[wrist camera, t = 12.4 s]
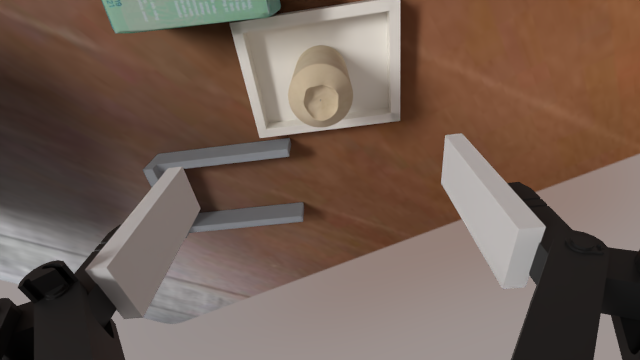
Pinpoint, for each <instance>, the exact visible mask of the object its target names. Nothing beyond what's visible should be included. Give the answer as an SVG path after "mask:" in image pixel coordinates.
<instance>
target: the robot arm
mask: <svg viewBox="0 0 640 360" xmlns="http://www.w3.org/2000/svg"><path fill="white" fill-rule="evenodd" d="M441 184H442V185H443V187H444V189H445V191H446V192H447V194H448V196H449V198H450V199H451V201H452V203H453V204H454V206H455V208H456V210H457V211H458V213H459V215H460V217H461V218H462V220H463V222H464V223H465V225H466V227H467V229H468V230H469V232H470V234H471V235H472V237H473V239H474V241H475V242H476V244H477V246H478V248H479V249H480V251H481V253H482V255H483V256H484V258H485V260H486V261H487V263H488V265H489V266H490V268H491V270H492V272H493V274H494V275H495V277H496V279H497V280H498V282H499V284H500V286H501V287H502V289H507V288H521V287H526V284H527V281H528V278H529V276H531V278H532V279H533V281H534V282H535V284H536V285H537V286H536V289H535V291H534V294H533V297H532V300H531V302H530V306H529V309H528V312H527V315H526V318H525V320H524V324H523V326H522V329H521V332H520V335H519V338H518V341H517V344H516V347H515V349H514V353H513V355H512V358H511V360H593V358H594V352H595V346H596V339H597V333H598V327H599V319H600V314H601V313H603V314H608V315H611V317H612V321H613V325H614V329H615V333H616V336H617V340H618V344H619V348H620V352H621V355H622V359H623V360H640V250H639V251H631V250H622V249H615V248H608V247H607V246H606V245H605V244H604V243H603V242H602V241H601V240H599V239H597V238H596V237H594V236H592V235H589V234H587V233H584V232H579V231H574V230H572V229H571V228H570V227H569V226H568V225H567V224H566V223H565V222H564V221H563V220H562V219H561V218H560V217H559V216H558V215H557V214H556V213H555V212H554V211H553V210H552V209H551V208H550V207H549V206H547V204H546V203H545V202H544V201H543V200H542V199H540V197H539V196H538V195H537V194H536V193H535V192H534V191H533V190H532V189H531V188H529V187H527V186H525V185H523V184H522V183H520V182H514V183H506V182H505V181H504V180H503V178H502V177H501V176H500V175H499V174H498V173H497V172H496V171H495V170H494V168H493V167H492V166H491V165H490V164H489V163H488V162H487V161H486V160H485V158H484V157H483V156H482V155H481V154H480V153H479V152H478V151H477V150H476V148H475V147H474V146H473V145H472V144H471V143H470V142H469V141H468V140H467V138H466V137H465V136H464V135H463V134H462V133H460V134H452V135H445V145H444V156H443V167H442V179H441ZM200 209H201V208H200V206H199V204H198V201H197V199H196V197H195V195H194V192H193V190H192V188H191V185H190V183H189V181H188V178H187V176H186V174H185V172H184V169H183V167H174V168H168V169H167V170H166V171H165V172H164V174H163V175H162V176H161V177H160V179H159V180H158V181H157V182H156V183H155V185H154V186H153V187H152V188H151V190H150V191H149V192H148V193H147V194H146V196H145V197H144V198H143V199H142V201H141V202H140V203H139V204H138V205H137V207H136V208H135V209H134V210H133V212H132V213H131V214H130V215H129V216H128V218H127V219H126V220H125V221H124V223H123V224H122V225H119V226H117V227H116V228H115V229H113V230H112V231H111V232H109V233H108V234H107V236H106V237H105V238H104V239H103V240H102V242H101V244H99V245H98V246H97V247H96V249H95V251H94V252H92V253H91V255H90V256H89V257H88V258H87V259H86V261H85V262H84V263H83V264H82V265H81V266H80V268H79V269H78V270H77V271H76V272H75V274H74V273H73V272H72V271H71V270H70V269H69V267H68V266H67V265H66V264H65V263H64V261H59V260H57V261H52V262H49V263H46V264H43V265H41V266H39V267H38V268H36V269H34V270H33V271H31V272H30V273H29V274H27V275H26V276H25V277H24V278H23V279H22V281H21V282H20V284H19V286H18V288H19V289H20V290H21V291H22V292H23V293H24V294H25V295H26V296H27V297H28V298H29V299H30V300H31V302H28V303H25V304H22V305H19V306H16V305H15V304H14V303H13V302H12V301H11V300H10V299H9V298H1V299H0V360H125V358H124V354H123V350H122V347H121V343H120V340H119V336H118V332H117V328H116V324H115V323H114V321H113V320H112V319H111V317H112V316H113V314H114V312H115V311H116V309H117V311H118V312H119V313H120V314H121V316H122V317H123V318H124V319H129V318H142V317H144V315H145V313H146V311H147V309H148V307H149V305H150V303H151V302H152V300H153V298H154V296H155V294H156V292H157V290H158V288H159V286H160V285H161V283H162V281H163V279H164V277H165V275H166V273H167V271H168V269H169V268H170V266H171V264H172V262H173V260H174V258H175V256H176V254H177V253H178V251H179V249H180V247H181V245H182V243H183V241H184V239H185V237H186V236H187V234H188V232H189V230H190V228H191V226H192V224H193V222H194V220H195V219H196V217H197V215H198V213H199V211H200Z"/></svg>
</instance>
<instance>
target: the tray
mask: <svg viewBox="0 0 640 360" xmlns="http://www.w3.org/2000/svg"><path fill="white" fill-rule="evenodd" d="M229 24H230V28H231V32H232V35H233V39H234V43H235V47H236V50H237V54H238V58H239V62H240V65H241V69H242V73H243V77H244V81H245V84H246V88H247V92H248V96H249V99H250V103H251V107H252V111H253V114H254V118H255V122H256V126H257V130H258V133H259V137H260V138H265V137H273V136H281V135H289V134H297V133H305V132H314V131H322V130H330V129H338V128H346V127H354V126H362V125H370V124H378V123H387V122H395V121H400V0H364V1H357V2H351V3H344V4H338V5H332V6H325V7H319V8H312V9H306V10H300V11H293V12H287V13H280V14H274V15H272V16H269V17H267V18H256V19H248V20H240V21H233V22H231V23H229ZM318 45H324V46H329V47H331V48H333V49H335V50H336V51H338V52H339V53H340V54H341V56H342V57H343V59H344V61H345V63H346V66H347V70H348V74H349V78H350V82H351V85H352V90H353V101H352V105H351V108H350V110H349V112H348V113H347V115H346V116H345V117H344V118H343V119H342V120H341V121H339V122H338V123H336V124H334V125H332V126H328V127H313V126H310V125H307V124H305V123H303V122H302V121H300V120H299V119H298V118H297V117H296V116H295V114H294V113H293V111H292V110H291V107H290V104H289V100H288V91H289V86H290V83H291V80H292V76H293V73H294V70H295V67H296V64H297V61H298V59H299V57H300V56H301V55H302V53H303V52H305V51H306V50H307V49H309V48H311V47H313V46H318Z"/></svg>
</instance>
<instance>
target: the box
mask: <svg viewBox="0 0 640 360" xmlns="http://www.w3.org/2000/svg"><path fill="white" fill-rule="evenodd" d="M102 3H103V5H104V8H105V10H106V13H107V15H108V18H109V20H110V23H111V26H112V28H113V30H114V32H115V33H137V32H146V31H154V30H163V29H172V28H180V27H189V26H197V25H206V24H214V23H223V22H231V21H240V20H248V19H256V18H267V17H269V16H272V15H274V14H275V13H276V12H277V11H279V10H280V8H281V4H280V0H102Z"/></svg>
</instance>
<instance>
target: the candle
mask: <svg viewBox="0 0 640 360" xmlns="http://www.w3.org/2000/svg"><path fill="white" fill-rule="evenodd" d="M288 100H289V104H290V107H291V110H292V111H293V113H294V114H295V116H296V117H297V118H298V119H299V120H300V121H302V122H303V123H305V124H307V125H310V126H313V127H328V126H332V125H334V124H336V123H338V122H339V121H341V120H342V119H343V118H344V117H345V116H346V115H347V113H348V112H349V110H350V108H351V105H352V101H353V90H352V85H351V82H350V78H349V74H348V70H347V66H346V63H345V61H344V59H343V57H342V56H341V54H340V53H339V52H338V51H336V50H335V49H333V48H331V47H329V46H324V45H318V46H313V47H311V48H309V49H307V50H306V51H305V52H303V53H302V55H301V56H300V57H299V59H298V61H297V64H296V67H295V70H294V73H293V76H292V80H291V83H290V86H289V91H288Z"/></svg>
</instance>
